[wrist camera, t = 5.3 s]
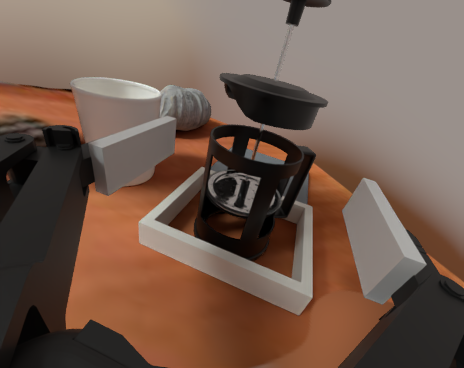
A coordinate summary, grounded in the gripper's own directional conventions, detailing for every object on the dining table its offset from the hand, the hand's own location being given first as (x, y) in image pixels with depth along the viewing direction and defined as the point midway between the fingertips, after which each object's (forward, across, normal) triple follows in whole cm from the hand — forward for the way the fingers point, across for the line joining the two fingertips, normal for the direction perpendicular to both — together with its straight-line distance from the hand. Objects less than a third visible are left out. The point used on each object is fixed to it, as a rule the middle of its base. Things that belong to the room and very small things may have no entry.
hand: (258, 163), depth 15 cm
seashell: (+34, -23, -13) cm, 43 cm away
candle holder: (+10, -20, -13) cm, 25 cm away
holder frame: (+6, -1, -12) cm, 14 cm away
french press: (+6, -1, -13) cm, 14 cm away
